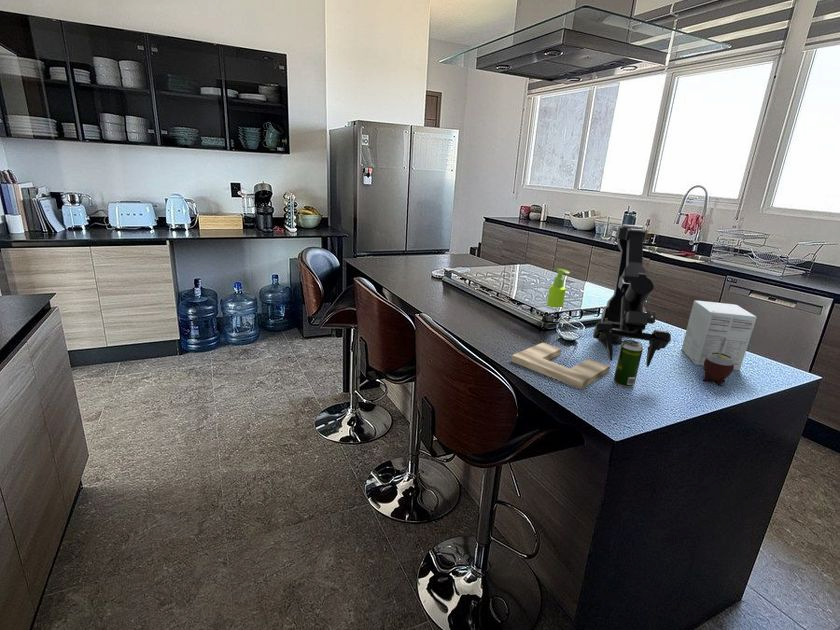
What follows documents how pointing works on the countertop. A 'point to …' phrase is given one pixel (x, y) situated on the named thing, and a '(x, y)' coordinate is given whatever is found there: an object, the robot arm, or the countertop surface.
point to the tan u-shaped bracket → (560, 366)
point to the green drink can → (628, 363)
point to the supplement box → (718, 331)
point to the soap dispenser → (557, 290)
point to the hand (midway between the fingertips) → (629, 363)
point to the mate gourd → (718, 366)
